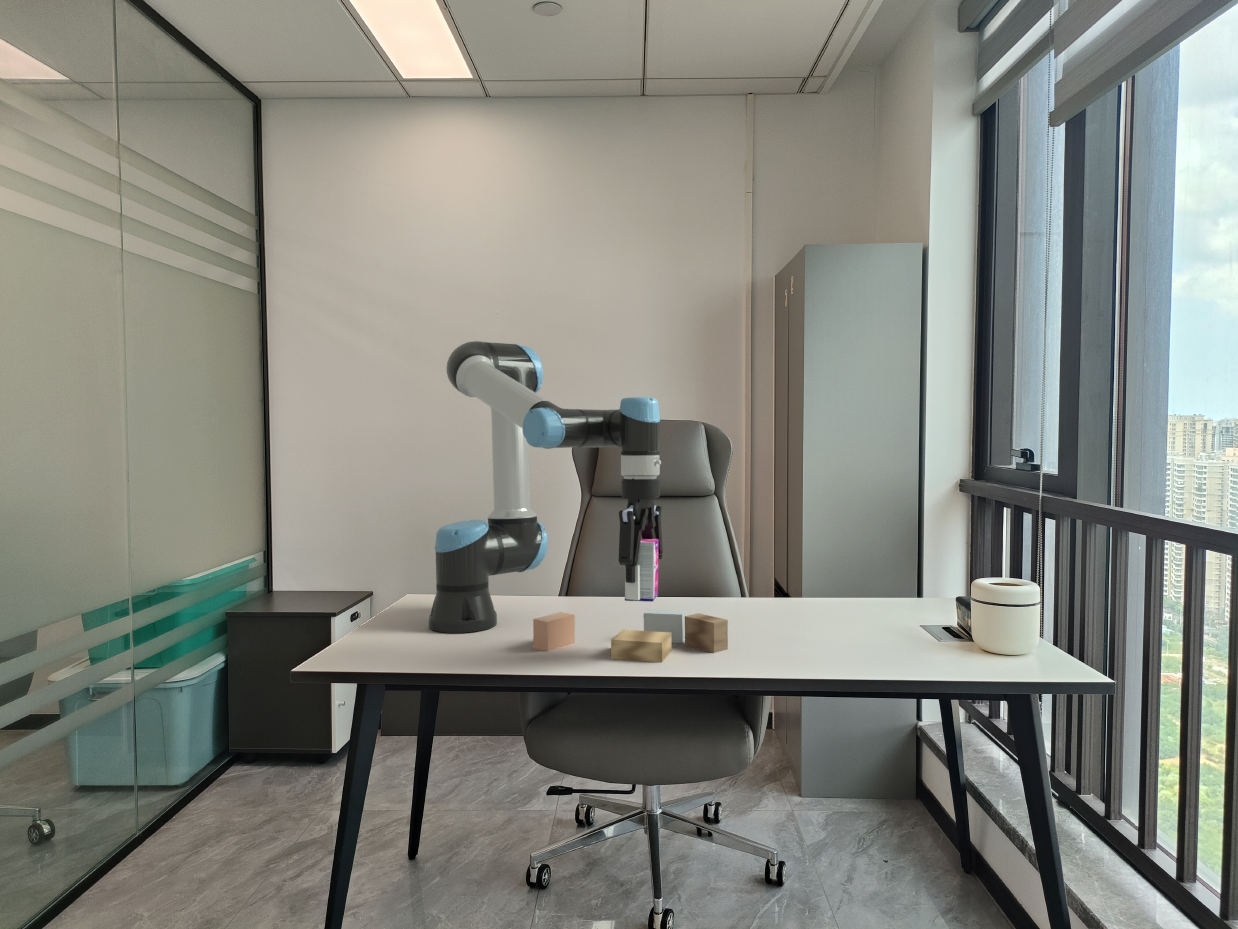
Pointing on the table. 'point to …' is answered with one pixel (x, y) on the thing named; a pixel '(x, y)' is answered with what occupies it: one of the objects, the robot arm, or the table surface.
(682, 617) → the grey painted brick
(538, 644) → the terracotta brick
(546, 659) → the table surface
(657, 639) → the oak block
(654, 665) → the table surface
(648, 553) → the supplement box
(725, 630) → the walnut brick
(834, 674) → the table surface
